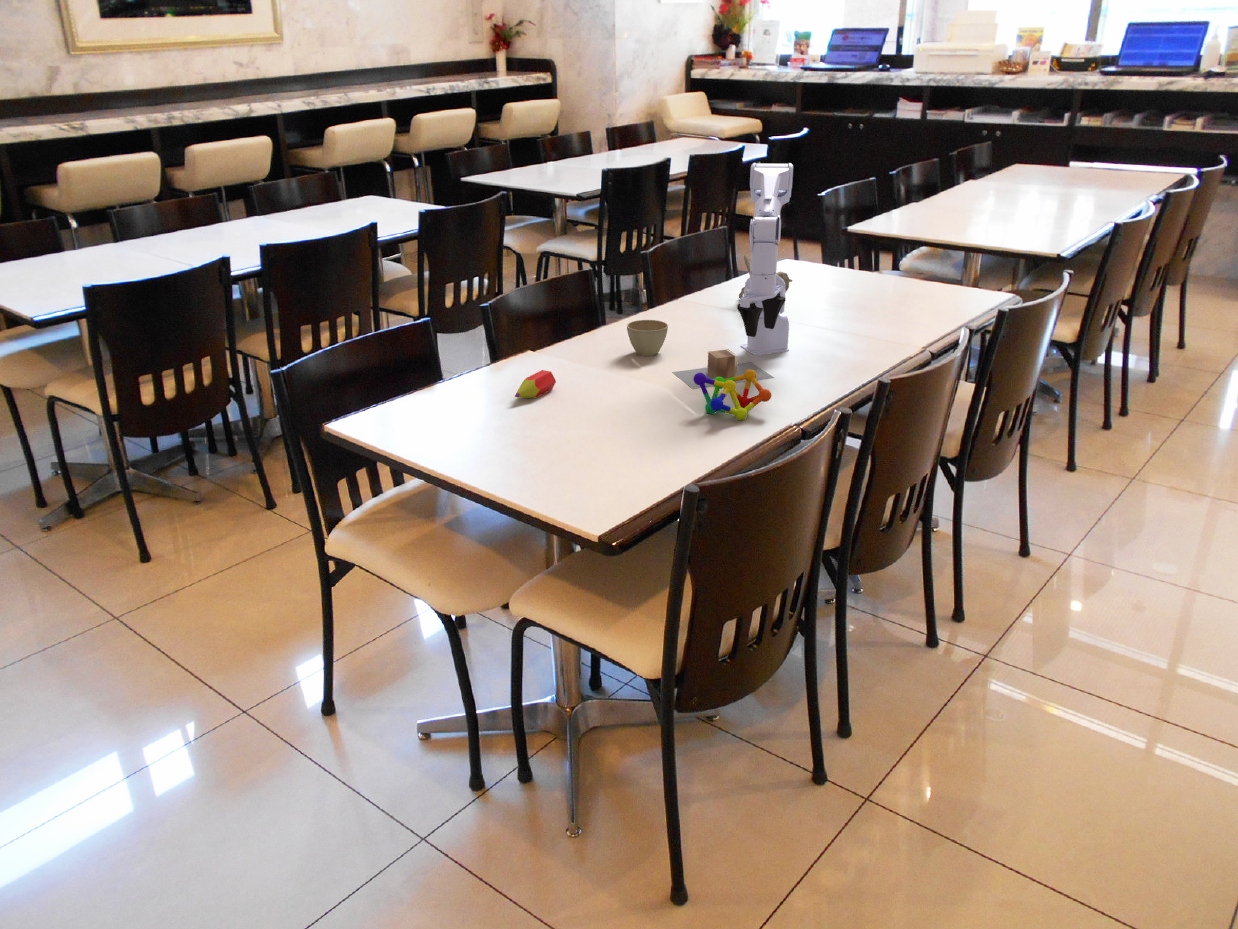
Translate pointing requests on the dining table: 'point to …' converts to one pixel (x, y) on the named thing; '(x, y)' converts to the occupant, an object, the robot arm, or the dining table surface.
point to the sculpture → (780, 274)
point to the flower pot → (647, 336)
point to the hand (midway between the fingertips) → (760, 332)
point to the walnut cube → (722, 364)
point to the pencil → (536, 385)
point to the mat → (741, 368)
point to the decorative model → (732, 394)
